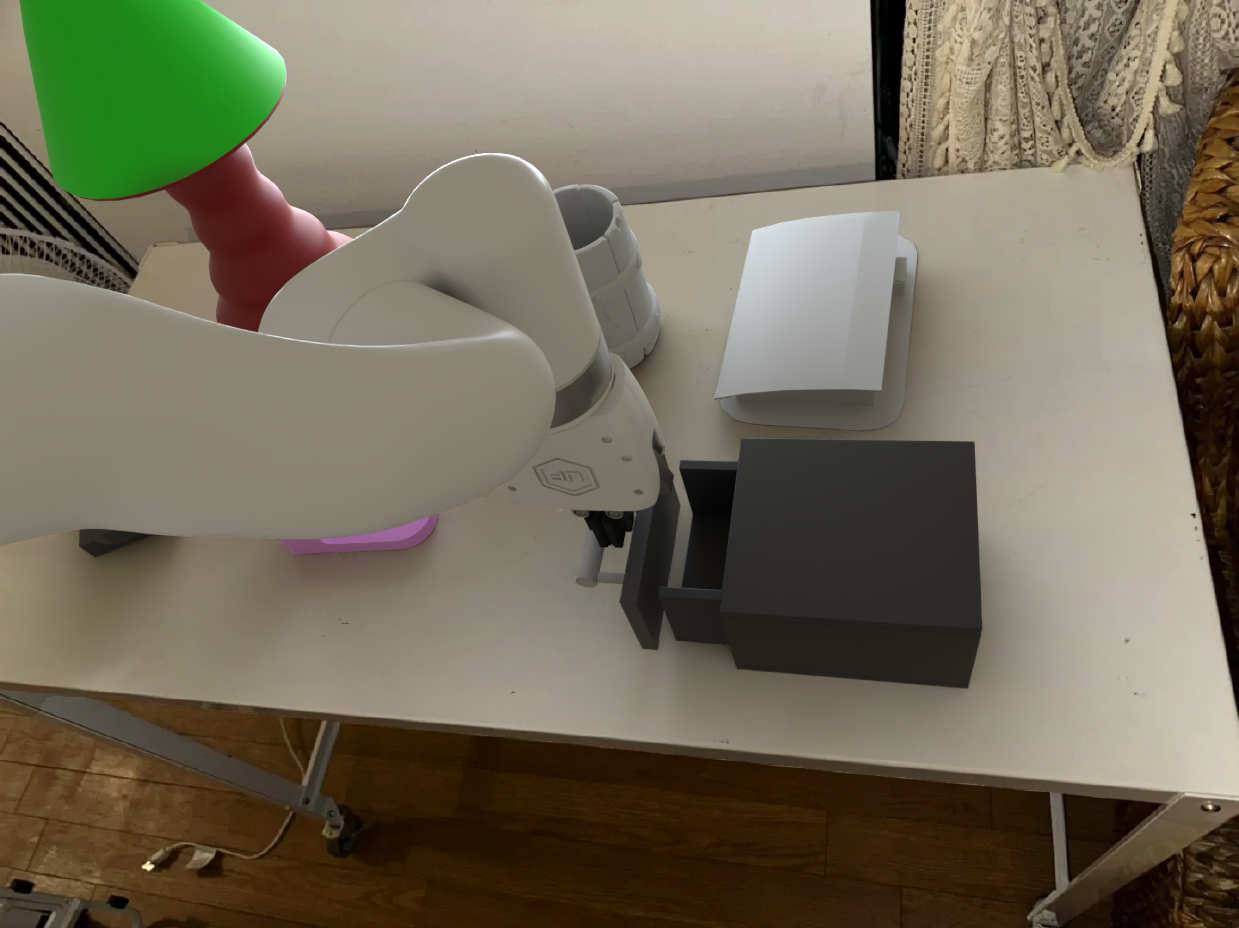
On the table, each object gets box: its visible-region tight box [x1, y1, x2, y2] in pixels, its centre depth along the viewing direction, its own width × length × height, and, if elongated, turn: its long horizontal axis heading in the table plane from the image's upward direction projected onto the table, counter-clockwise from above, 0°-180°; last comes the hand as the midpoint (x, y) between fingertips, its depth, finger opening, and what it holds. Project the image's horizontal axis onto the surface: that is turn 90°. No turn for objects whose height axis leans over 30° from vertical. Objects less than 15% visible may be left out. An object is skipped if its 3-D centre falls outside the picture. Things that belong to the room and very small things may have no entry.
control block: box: [78, 529, 155, 558], centre depth 87 cm, size 15×9×4 cm, turn 18°
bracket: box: [278, 514, 439, 555], centre depth 78 cm, size 13×6×7 cm, turn 86°
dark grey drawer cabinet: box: [720, 437, 984, 690], centre depth 63 cm, size 16×14×10 cm
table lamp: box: [19, 0, 354, 333], centre depth 76 cm, size 20×20×45 cm
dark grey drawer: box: [574, 453, 738, 651], centre depth 66 cm, size 19×12×8 cm, turn 80°
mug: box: [552, 183, 662, 370], centre depth 81 cm, size 11×17×17 cm, turn 82°
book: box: [713, 210, 918, 432], centre depth 81 cm, size 15×23×4 cm, turn 167°
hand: (615, 529), depth 66 cm, fingers closed
